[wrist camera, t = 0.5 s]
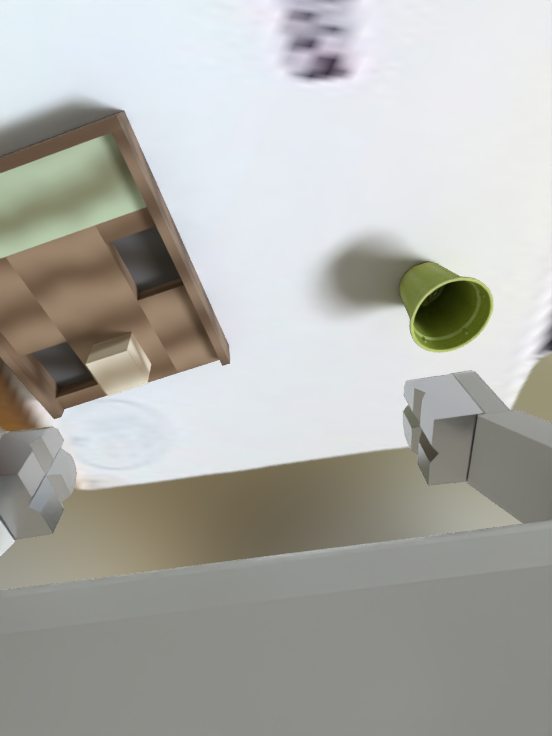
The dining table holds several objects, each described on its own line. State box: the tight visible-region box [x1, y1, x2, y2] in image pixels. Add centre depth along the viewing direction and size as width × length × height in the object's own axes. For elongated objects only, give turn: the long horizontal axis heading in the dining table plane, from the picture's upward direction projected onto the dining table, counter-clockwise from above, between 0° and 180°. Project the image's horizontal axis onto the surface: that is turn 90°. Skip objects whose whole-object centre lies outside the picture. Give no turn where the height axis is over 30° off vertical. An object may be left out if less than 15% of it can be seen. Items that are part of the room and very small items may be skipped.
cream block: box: [86, 332, 151, 396], centre depth 51 cm, size 5×5×4 cm
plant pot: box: [400, 262, 493, 352], centre depth 51 cm, size 9×9×9 cm
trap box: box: [0, 111, 230, 419], centre depth 48 cm, size 28×24×4 cm
